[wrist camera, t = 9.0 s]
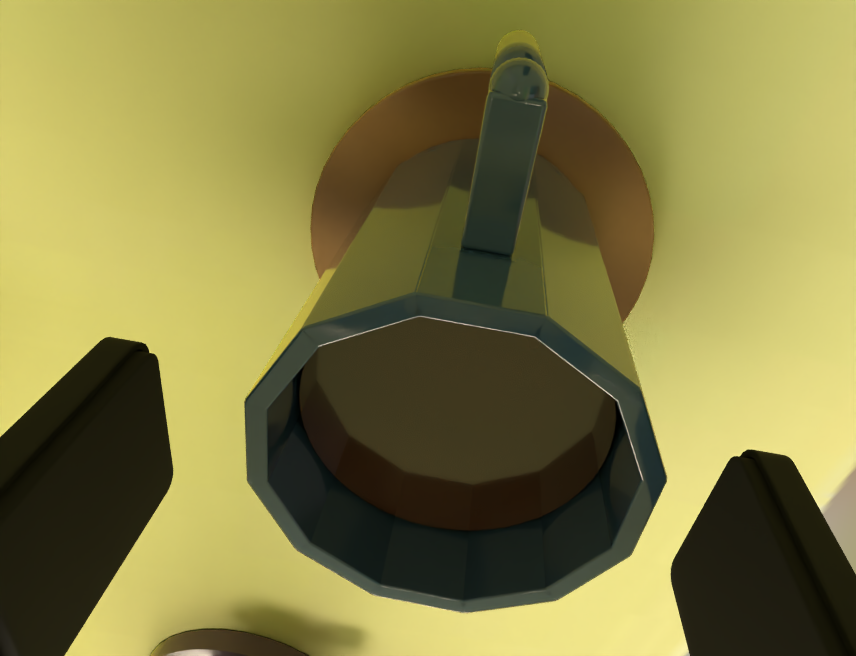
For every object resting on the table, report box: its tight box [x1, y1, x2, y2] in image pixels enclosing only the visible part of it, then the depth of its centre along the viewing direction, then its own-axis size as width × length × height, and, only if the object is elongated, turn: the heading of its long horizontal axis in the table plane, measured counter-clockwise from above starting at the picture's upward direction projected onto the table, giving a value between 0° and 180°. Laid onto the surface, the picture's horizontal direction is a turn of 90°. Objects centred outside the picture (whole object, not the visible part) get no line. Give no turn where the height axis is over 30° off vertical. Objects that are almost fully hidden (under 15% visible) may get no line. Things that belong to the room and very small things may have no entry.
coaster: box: [311, 68, 654, 323], centre depth 19 cm, size 10×10×1 cm
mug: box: [244, 30, 667, 613], centre depth 14 cm, size 10×7×10 cm
